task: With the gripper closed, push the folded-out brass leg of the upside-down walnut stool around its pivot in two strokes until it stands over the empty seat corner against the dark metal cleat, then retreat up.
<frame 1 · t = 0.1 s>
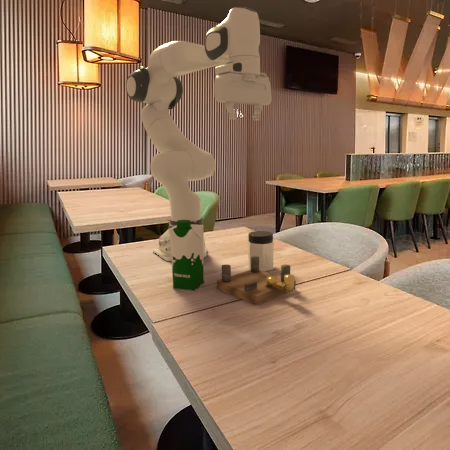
hand: (244, 119, 113), 48 cm above the table, fingers open, 8 cm apart
jar: (260, 268, 130), on the table
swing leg: (279, 280, 104), point 5 cm above the table, hinge at 0.0°
stool seat: (255, 289, 111), on the table
milk carton: (189, 285, 115), on the table
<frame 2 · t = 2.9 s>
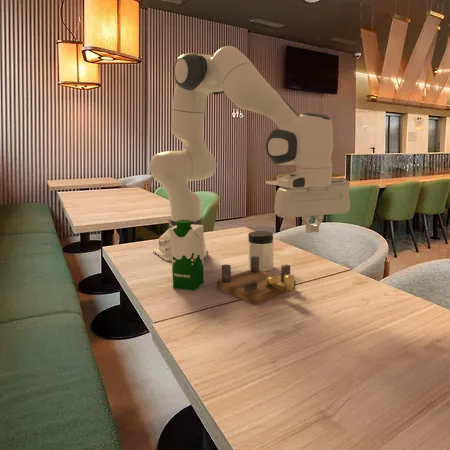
hand: (312, 232, 100), 18 cm above the table, fingers closed
nothing on the table moved.
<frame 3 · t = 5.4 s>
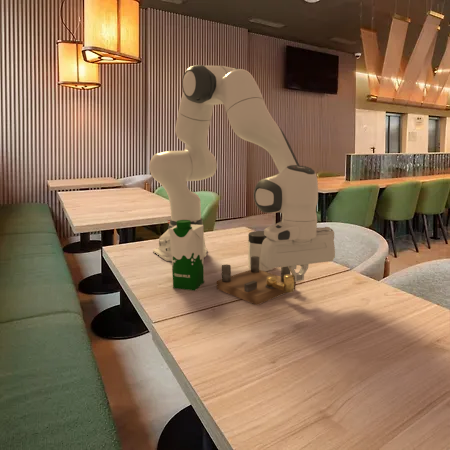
hand: (297, 280, 102), 6 cm above the table, fingers closed
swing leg: (279, 280, 104), point 5 cm above the table, hinge at -0.5°, touching gripper
everything else where it was.
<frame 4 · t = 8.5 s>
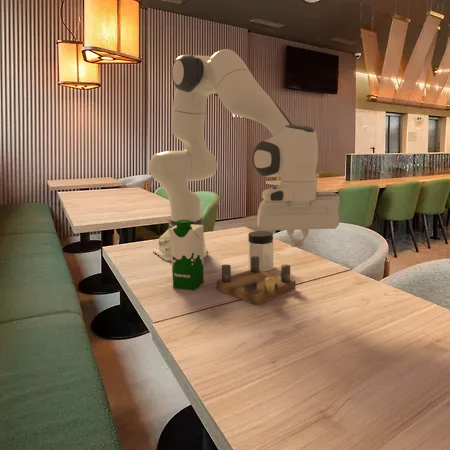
hand: (297, 246, 98), 15 cm above the table, fingers closed
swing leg: (270, 281, 103), point 5 cm above the table, hinge at -53.8°
everything else where it was.
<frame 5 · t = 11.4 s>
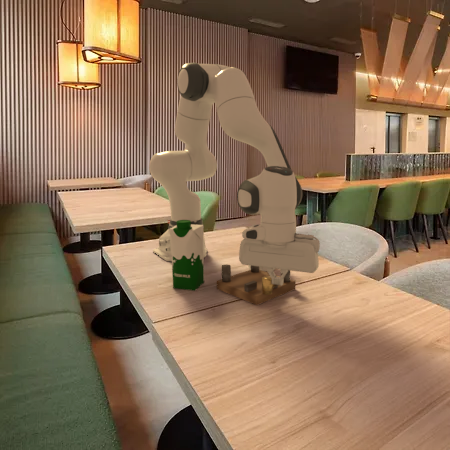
hand: (277, 284, 99), 6 cm above the table, fingers closed
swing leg: (269, 281, 103), point 5 cm above the table, hinge at -60.0°, touching gripper
everything else where it was.
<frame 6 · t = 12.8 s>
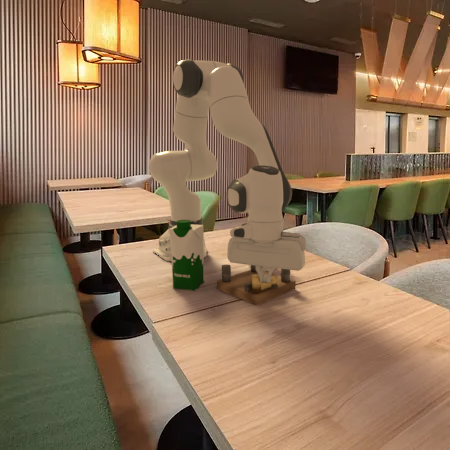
hand: (265, 282, 101), 6 cm above the table, fingers closed
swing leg: (264, 280, 104), point 5 cm above the table, hinge at -91.3°, touching gripper
everything else where it was.
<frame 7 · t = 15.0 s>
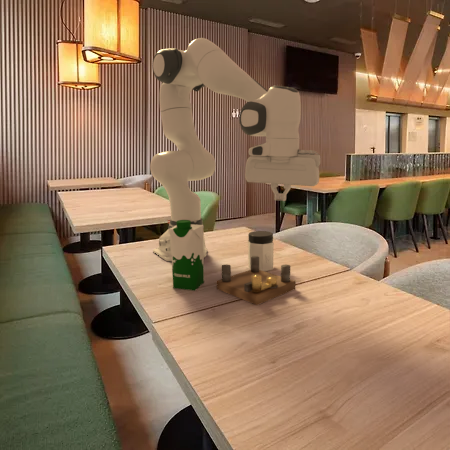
hand: (280, 200, 106), 26 cm above the table, fingers closed
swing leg: (264, 280, 104), point 5 cm above the table, hinge at -90.4°
everything else where it was.
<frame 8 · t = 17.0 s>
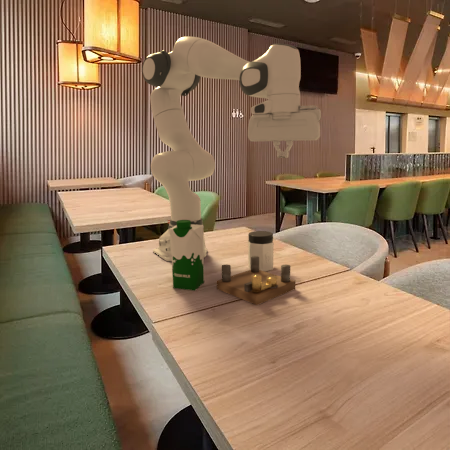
hand: (282, 157, 109), 37 cm above the table, fingers closed
nothing on the table moved.
at the end: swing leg at -90° (first picture: +0°) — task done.
